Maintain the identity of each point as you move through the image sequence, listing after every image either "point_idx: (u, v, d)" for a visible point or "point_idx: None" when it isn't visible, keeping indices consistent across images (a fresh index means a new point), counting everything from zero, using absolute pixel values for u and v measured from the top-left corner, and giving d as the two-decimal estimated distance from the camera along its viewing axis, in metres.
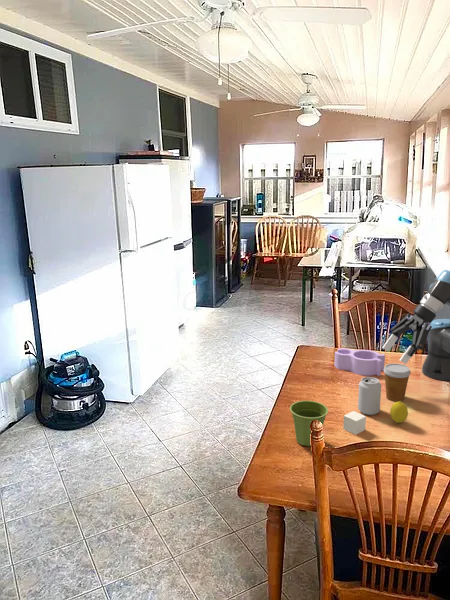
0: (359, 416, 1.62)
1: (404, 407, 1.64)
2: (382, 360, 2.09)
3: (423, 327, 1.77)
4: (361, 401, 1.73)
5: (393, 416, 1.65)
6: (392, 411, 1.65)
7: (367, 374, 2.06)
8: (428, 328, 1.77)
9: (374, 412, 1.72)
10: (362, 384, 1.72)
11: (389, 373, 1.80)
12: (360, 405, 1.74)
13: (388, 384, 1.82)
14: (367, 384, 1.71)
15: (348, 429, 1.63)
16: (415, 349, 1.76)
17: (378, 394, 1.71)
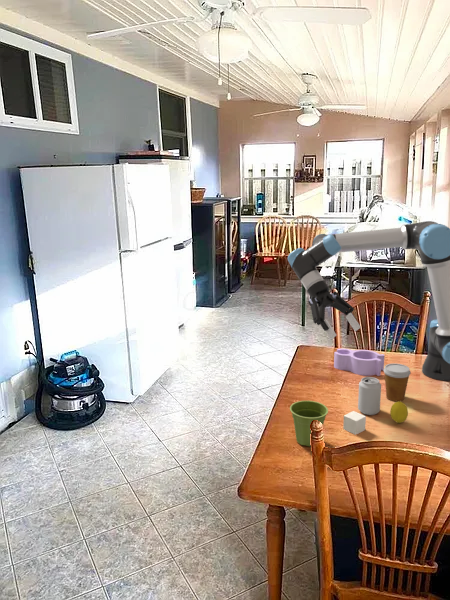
0: (359, 416, 1.62)
1: (404, 407, 1.64)
2: (382, 360, 2.10)
3: None
4: (361, 401, 1.73)
5: (393, 416, 1.65)
6: (392, 411, 1.65)
7: (367, 374, 2.06)
8: (311, 301, 1.78)
9: (374, 412, 1.72)
10: (362, 384, 1.72)
11: (389, 373, 1.80)
12: (360, 405, 1.74)
13: (388, 384, 1.82)
14: (367, 384, 1.71)
15: (348, 429, 1.63)
16: (321, 323, 1.75)
17: (378, 394, 1.71)
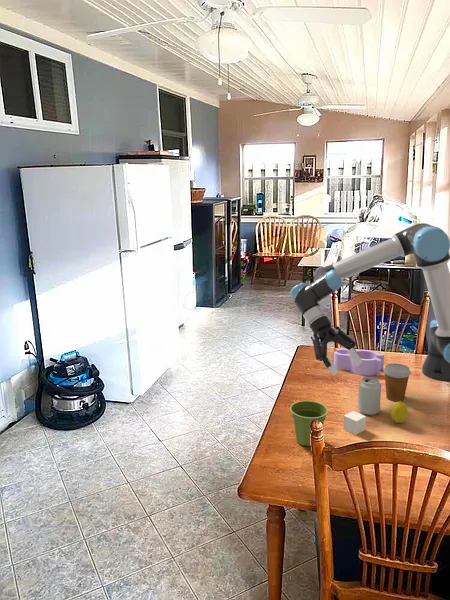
0: (359, 416, 1.62)
1: (404, 407, 1.64)
2: (381, 360, 2.10)
3: None
4: (361, 401, 1.73)
5: (393, 416, 1.65)
6: (392, 411, 1.65)
7: (367, 374, 2.06)
8: (314, 337, 1.80)
9: (374, 412, 1.72)
10: (362, 384, 1.72)
11: (389, 373, 1.80)
12: (360, 405, 1.74)
13: (388, 384, 1.82)
14: (367, 384, 1.71)
15: (348, 429, 1.63)
16: (323, 359, 1.77)
17: (378, 394, 1.71)
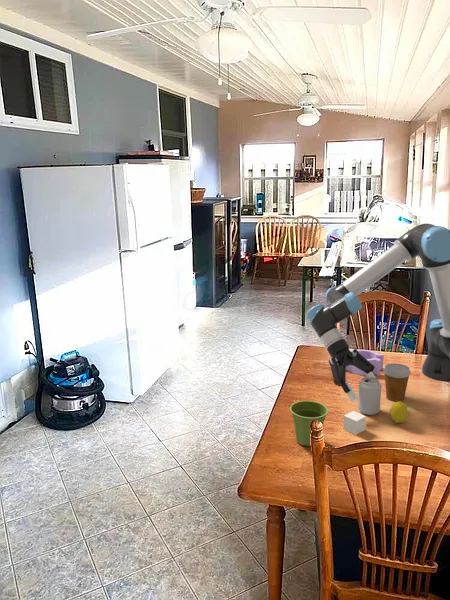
0: (359, 416, 1.62)
1: (404, 407, 1.64)
2: (381, 360, 2.10)
3: None
4: (361, 401, 1.73)
5: (393, 416, 1.65)
6: (392, 411, 1.65)
7: (366, 374, 2.06)
8: (332, 361, 1.75)
9: (374, 412, 1.72)
10: (362, 384, 1.72)
11: (389, 373, 1.80)
12: (360, 405, 1.74)
13: (388, 384, 1.82)
14: (367, 384, 1.71)
15: (348, 429, 1.63)
16: (342, 385, 1.72)
17: (378, 394, 1.71)
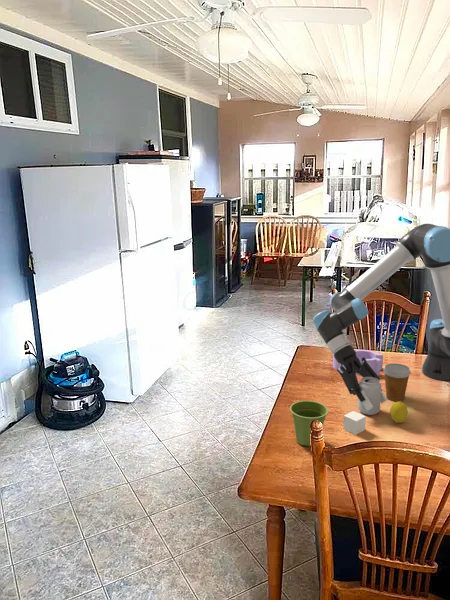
0: (359, 416, 1.62)
1: (404, 407, 1.64)
2: (380, 360, 2.10)
3: None
4: None
5: (393, 416, 1.65)
6: (392, 411, 1.65)
7: None
8: (341, 371, 1.74)
9: (374, 412, 1.72)
10: (362, 384, 1.72)
11: (389, 373, 1.80)
12: (360, 405, 1.74)
13: (388, 384, 1.82)
14: (367, 384, 1.71)
15: (348, 429, 1.63)
16: (357, 393, 1.71)
17: (378, 394, 1.71)
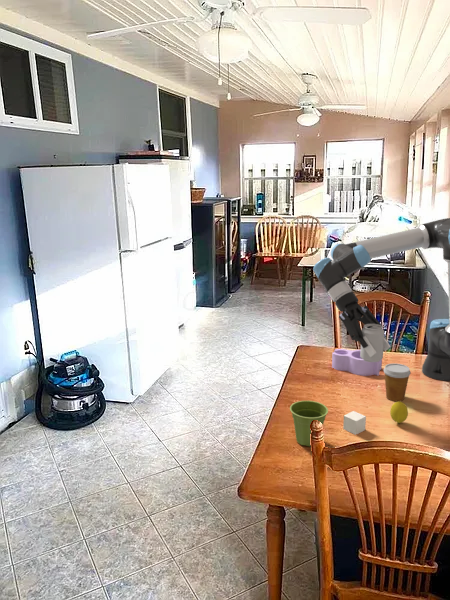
0: (359, 416, 1.62)
1: (404, 407, 1.64)
2: None
3: None
4: None
5: (393, 416, 1.65)
6: (392, 411, 1.65)
7: (366, 374, 2.06)
8: (343, 317, 1.69)
9: (377, 359, 1.67)
10: (364, 330, 1.67)
11: (389, 373, 1.80)
12: (362, 352, 1.69)
13: (388, 384, 1.82)
14: (370, 329, 1.66)
15: (348, 429, 1.63)
16: (359, 339, 1.66)
17: (381, 340, 1.66)
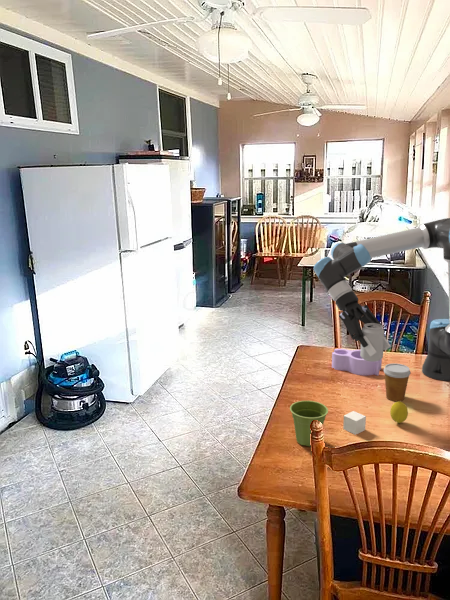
0: (359, 416, 1.62)
1: (404, 407, 1.64)
2: None
3: None
4: None
5: (393, 416, 1.65)
6: (392, 411, 1.65)
7: (366, 374, 2.06)
8: (343, 316, 1.69)
9: (377, 358, 1.67)
10: (365, 329, 1.67)
11: (389, 373, 1.80)
12: (362, 351, 1.69)
13: (388, 384, 1.82)
14: (370, 329, 1.66)
15: (348, 429, 1.63)
16: (359, 339, 1.66)
17: (381, 339, 1.66)
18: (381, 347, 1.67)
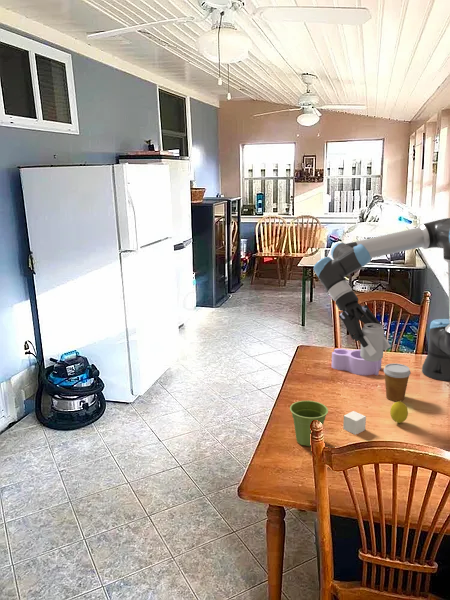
0: (359, 416, 1.62)
1: (404, 407, 1.64)
2: None
3: None
4: None
5: (393, 416, 1.65)
6: (392, 411, 1.65)
7: (365, 374, 2.06)
8: (343, 316, 1.69)
9: (377, 358, 1.67)
10: (365, 329, 1.67)
11: (389, 373, 1.80)
12: (362, 351, 1.69)
13: (388, 384, 1.82)
14: (370, 329, 1.66)
15: (348, 429, 1.63)
16: (359, 339, 1.66)
17: (381, 339, 1.66)
18: (381, 347, 1.67)
